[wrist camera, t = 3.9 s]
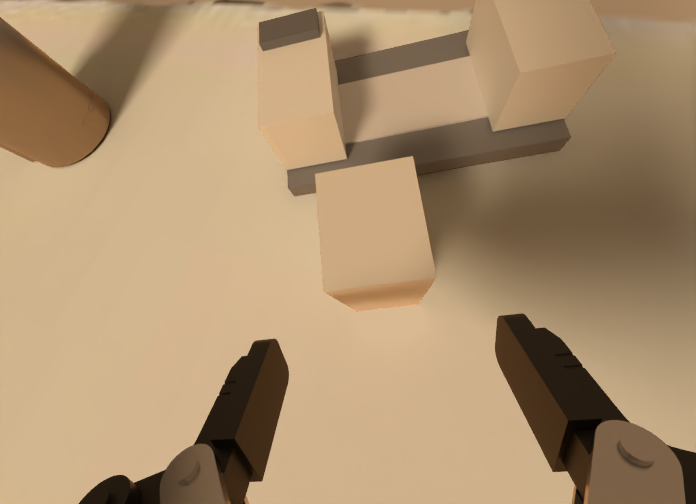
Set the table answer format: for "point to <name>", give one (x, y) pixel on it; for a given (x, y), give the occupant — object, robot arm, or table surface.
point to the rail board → (428, 90)
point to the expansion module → (374, 235)
